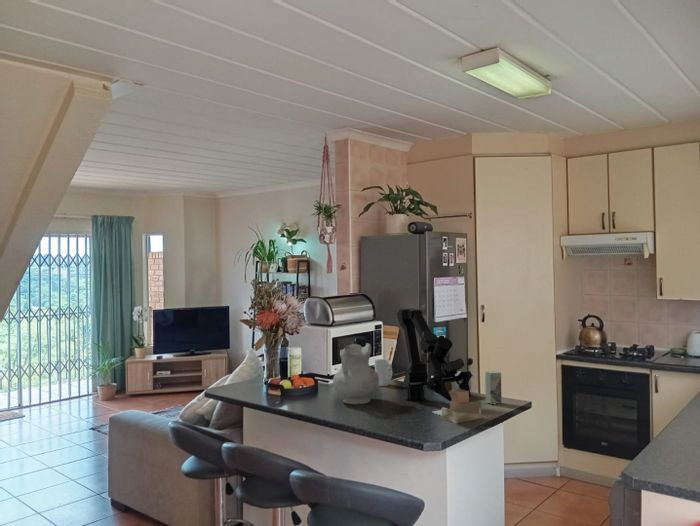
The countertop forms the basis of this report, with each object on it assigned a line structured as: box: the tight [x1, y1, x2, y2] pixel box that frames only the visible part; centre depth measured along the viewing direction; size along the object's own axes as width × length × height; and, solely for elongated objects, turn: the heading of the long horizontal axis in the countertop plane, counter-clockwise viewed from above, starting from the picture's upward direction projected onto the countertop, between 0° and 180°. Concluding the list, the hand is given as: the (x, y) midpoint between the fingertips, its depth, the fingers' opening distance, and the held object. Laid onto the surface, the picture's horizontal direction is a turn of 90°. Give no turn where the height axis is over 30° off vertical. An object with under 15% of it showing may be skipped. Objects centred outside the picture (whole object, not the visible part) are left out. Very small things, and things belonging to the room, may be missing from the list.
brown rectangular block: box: [449, 389, 470, 410], centre depth 202 cm, size 5×5×10 cm
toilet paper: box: [445, 371, 472, 392], centre depth 239 cm, size 10×10×10 cm
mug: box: [374, 358, 393, 387], centre depth 265 cm, size 10×7×12 cm, turn 45°
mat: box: [431, 409, 442, 417], centre depth 209 cm, size 8×8×1 cm
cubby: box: [441, 400, 482, 424], centre depth 201 cm, size 8×12×6 cm, turn 120°
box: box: [484, 370, 503, 405], centre depth 223 cm, size 5×4×13 cm
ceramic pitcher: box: [332, 342, 379, 405], centre depth 232 cm, size 22×20×25 cm
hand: (460, 398), depth 202 cm, fingers open, 9 cm apart
